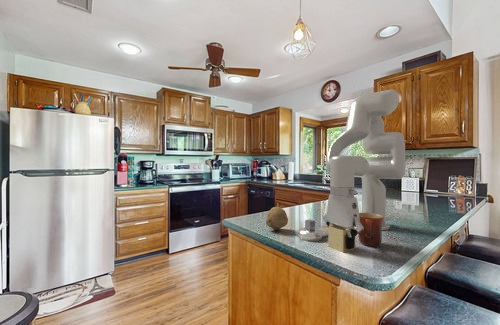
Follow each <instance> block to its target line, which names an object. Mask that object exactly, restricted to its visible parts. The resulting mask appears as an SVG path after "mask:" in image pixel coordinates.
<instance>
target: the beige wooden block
mask: <svg viewBox="0 0 500 325" xmlns="http://www.w3.org/2000/svg"><path fill="white" fill-rule="evenodd" d="M350 230H351V229H350ZM327 237H328V242H327V243H328V247H329V248H331V249H333V250H337V251H338V252H341V253H348V252H350V251H354V250H356V245H355V246H354V248H352V249H347V248H346V237H348V234H347V230H346V228H345V227H342V226H338V225H333V226H329V236H327Z"/></svg>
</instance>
